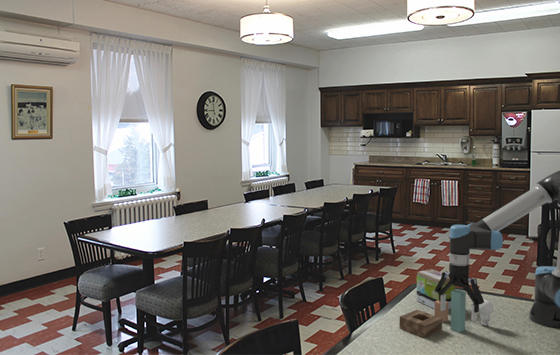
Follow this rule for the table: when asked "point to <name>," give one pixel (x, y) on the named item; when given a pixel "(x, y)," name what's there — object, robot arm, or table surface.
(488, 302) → the lightbulb
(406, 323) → the socket block
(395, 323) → the table surface
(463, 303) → the long peg
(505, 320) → the table surface
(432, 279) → the tea box
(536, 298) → the robot arm
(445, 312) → the short peg
